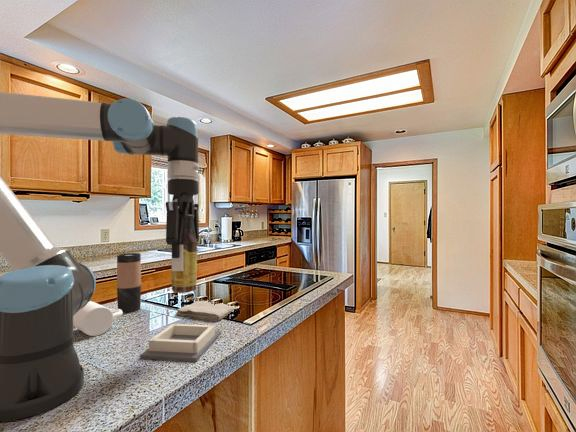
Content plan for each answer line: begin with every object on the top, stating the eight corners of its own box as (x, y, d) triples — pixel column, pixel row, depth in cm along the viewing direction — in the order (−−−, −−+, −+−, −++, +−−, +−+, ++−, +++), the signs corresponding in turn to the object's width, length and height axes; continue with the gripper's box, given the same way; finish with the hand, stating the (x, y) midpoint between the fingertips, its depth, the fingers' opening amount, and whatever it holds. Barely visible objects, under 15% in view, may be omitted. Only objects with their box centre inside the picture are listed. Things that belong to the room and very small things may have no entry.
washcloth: (196, 307, 113) (196, 298, 113) (238, 311, 107) (238, 303, 107) (173, 316, 102) (173, 307, 102) (219, 323, 96) (219, 313, 96)
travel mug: (145, 308, 109) (145, 253, 109) (124, 314, 102) (124, 256, 103) (133, 305, 113) (133, 252, 113) (112, 311, 107) (112, 254, 107)
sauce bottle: (167, 291, 78) (166, 214, 78) (189, 287, 82) (188, 214, 83) (179, 295, 73) (179, 214, 74) (202, 290, 78) (201, 214, 78)
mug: (82, 340, 82) (82, 310, 82) (69, 331, 88) (69, 304, 88) (128, 327, 91) (127, 301, 91) (113, 320, 97) (113, 295, 97)
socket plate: (196, 361, 69) (196, 347, 69) (140, 358, 71) (139, 344, 71) (220, 334, 85) (220, 322, 85) (173, 332, 87) (173, 320, 87)
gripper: (179, 174, 68) (180, 276, 68) (211, 183, 87) (211, 262, 87) (148, 174, 69) (149, 275, 69) (186, 183, 88) (187, 262, 88)
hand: (184, 268), depth 78 cm, fingers closed on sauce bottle, 6 cm apart
